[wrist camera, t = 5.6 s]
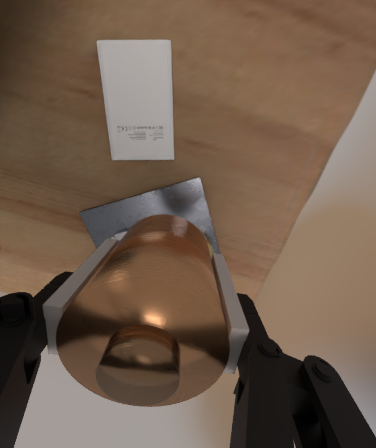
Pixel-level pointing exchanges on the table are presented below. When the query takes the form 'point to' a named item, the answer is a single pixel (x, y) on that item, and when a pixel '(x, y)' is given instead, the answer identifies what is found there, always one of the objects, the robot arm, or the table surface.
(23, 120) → the table surface
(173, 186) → the plate
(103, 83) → the external hard drive
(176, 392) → the copper knobbed cylinder
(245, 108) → the table surface
